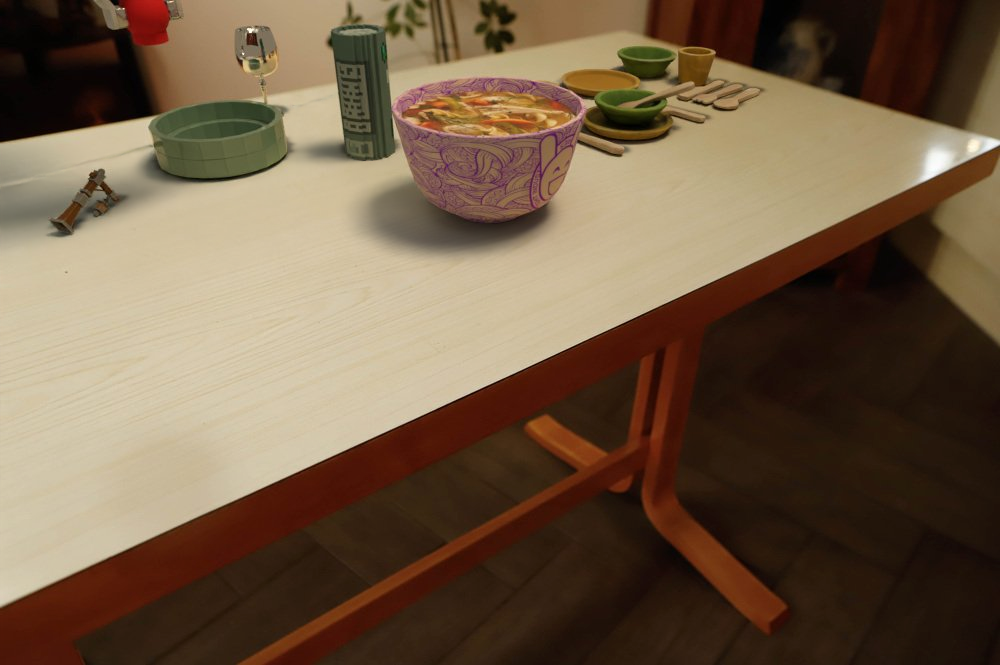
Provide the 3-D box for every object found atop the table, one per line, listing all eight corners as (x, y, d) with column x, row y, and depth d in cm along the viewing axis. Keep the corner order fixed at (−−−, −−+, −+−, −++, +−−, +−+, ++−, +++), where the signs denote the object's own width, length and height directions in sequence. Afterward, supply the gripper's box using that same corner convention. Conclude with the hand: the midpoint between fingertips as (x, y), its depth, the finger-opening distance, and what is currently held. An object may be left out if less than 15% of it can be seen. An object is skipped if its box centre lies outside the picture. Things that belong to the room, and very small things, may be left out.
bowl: (137, 159, 92) (125, 120, 89) (245, 128, 101) (238, 92, 99) (200, 193, 83) (190, 151, 80) (312, 156, 93) (306, 117, 90)
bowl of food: (600, 241, 74) (611, 131, 67) (404, 256, 71) (395, 143, 65) (556, 167, 90) (561, 72, 83) (395, 177, 87) (387, 80, 81)
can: (402, 146, 96) (393, 26, 87) (379, 162, 91) (366, 37, 83) (362, 140, 98) (349, 22, 89) (338, 155, 93) (321, 33, 84)
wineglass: (294, 117, 105) (280, 30, 98) (255, 125, 102) (238, 36, 96) (280, 107, 109) (265, 23, 102) (242, 114, 106) (225, 28, 100)
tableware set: (615, 161, 92) (620, 112, 88) (466, 111, 108) (465, 68, 104) (772, 93, 116) (781, 52, 112) (631, 61, 132) (635, 24, 128)
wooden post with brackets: (129, 194, 81) (105, 164, 77) (87, 249, 77) (60, 221, 73) (116, 191, 81) (91, 162, 77) (74, 246, 77) (46, 218, 74)
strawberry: (119, 42, 71) (103, -16, 68) (162, 34, 74) (148, -21, 71) (140, 49, 69) (124, -10, 66) (183, 41, 71) (170, -16, 68)
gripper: (196, -150, 70) (225, 3, 78) (-41, -147, 58) (23, 35, 66) (230, -148, 67) (258, 12, 75) (-14, -145, 55) (50, 47, 62)
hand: (146, 23), depth 70 cm, fingers closed on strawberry, 4 cm apart
